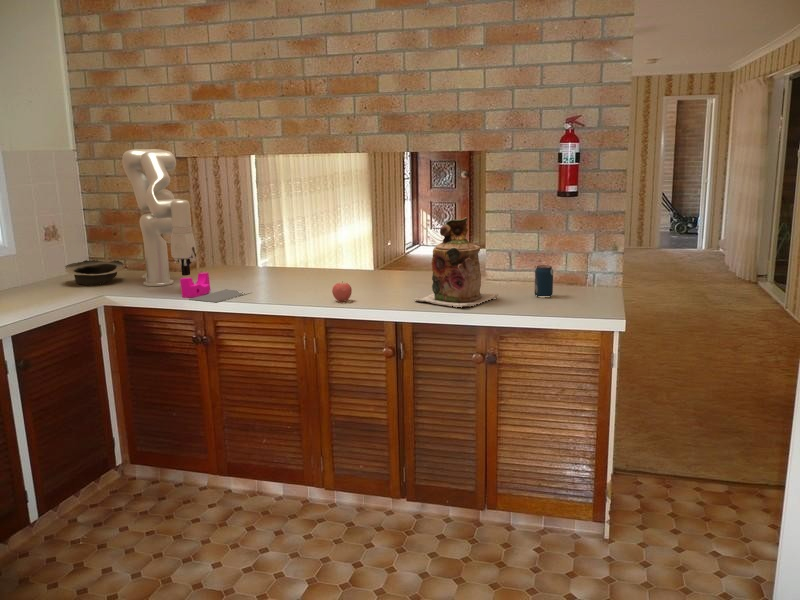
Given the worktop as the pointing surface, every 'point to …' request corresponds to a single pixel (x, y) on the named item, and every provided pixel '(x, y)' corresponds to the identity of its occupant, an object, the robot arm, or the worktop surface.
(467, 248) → the cookie jar
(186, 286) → the toy block
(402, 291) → the worktop surface
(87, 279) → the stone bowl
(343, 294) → the apple
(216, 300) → the mat
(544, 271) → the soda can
